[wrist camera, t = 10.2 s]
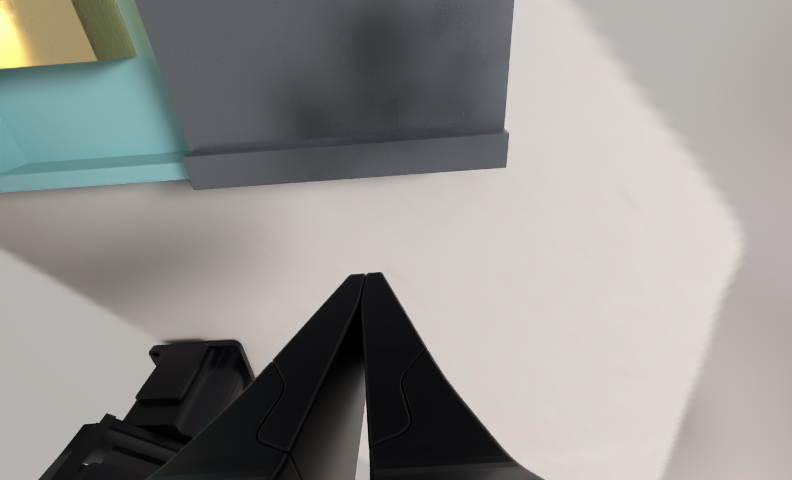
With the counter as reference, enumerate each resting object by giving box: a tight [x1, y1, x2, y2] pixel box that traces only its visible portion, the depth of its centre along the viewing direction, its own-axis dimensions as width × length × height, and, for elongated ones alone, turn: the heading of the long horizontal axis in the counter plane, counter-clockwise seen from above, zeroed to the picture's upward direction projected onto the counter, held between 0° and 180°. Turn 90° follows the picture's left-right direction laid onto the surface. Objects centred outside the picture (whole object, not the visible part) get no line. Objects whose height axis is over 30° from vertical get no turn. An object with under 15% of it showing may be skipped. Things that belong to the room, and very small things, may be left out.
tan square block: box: [0, 0, 137, 69], centre depth 14 cm, size 4×4×2 cm
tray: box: [0, 0, 190, 193], centre depth 14 cm, size 14×10×2 cm
